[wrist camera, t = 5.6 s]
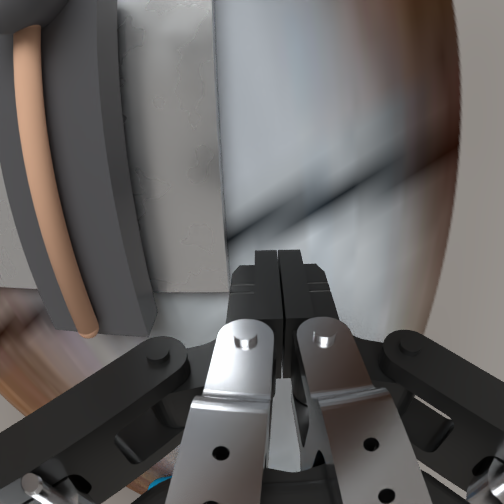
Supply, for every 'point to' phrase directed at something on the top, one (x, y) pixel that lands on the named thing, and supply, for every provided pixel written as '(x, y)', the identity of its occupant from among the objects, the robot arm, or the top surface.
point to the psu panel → (162, 148)
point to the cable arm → (71, 165)
